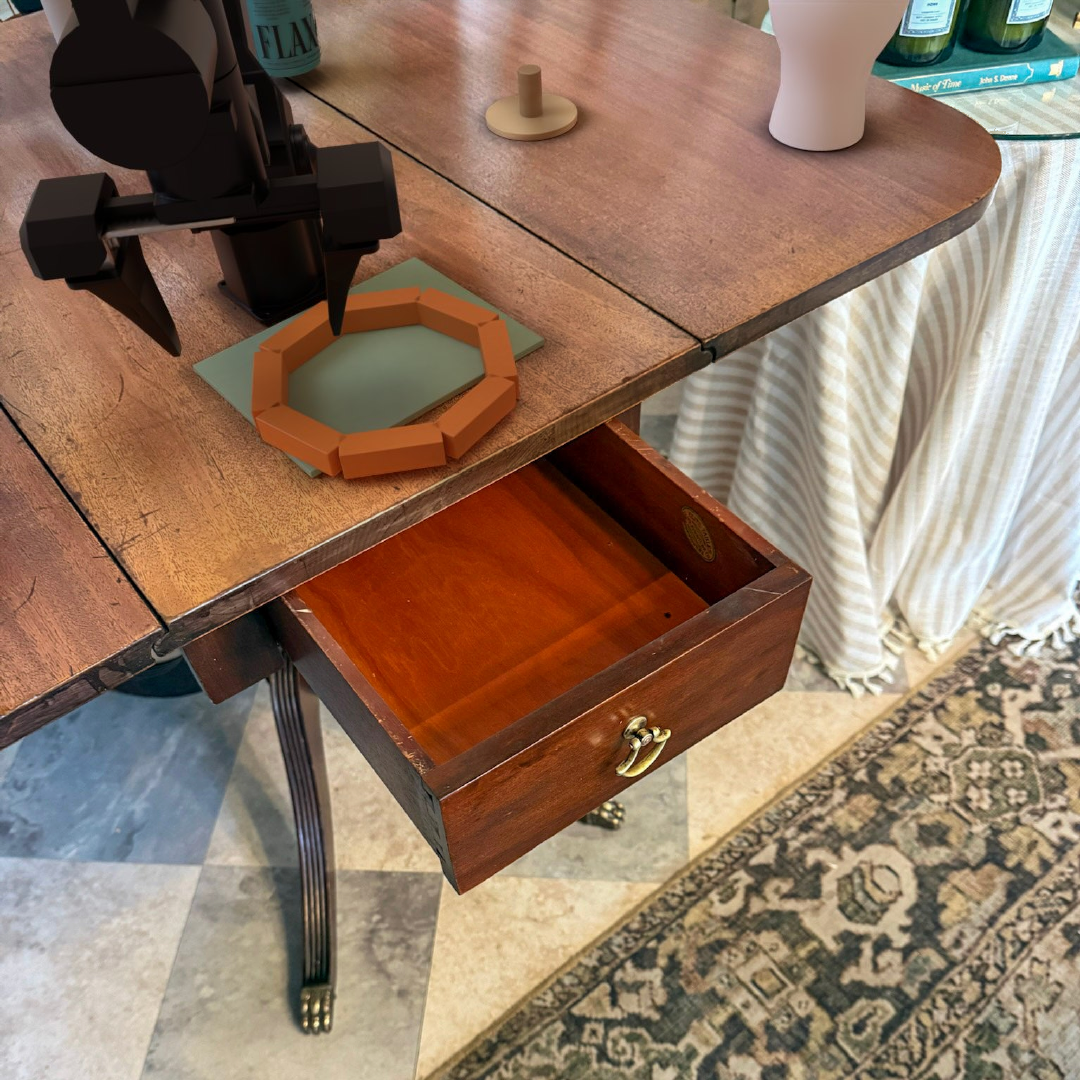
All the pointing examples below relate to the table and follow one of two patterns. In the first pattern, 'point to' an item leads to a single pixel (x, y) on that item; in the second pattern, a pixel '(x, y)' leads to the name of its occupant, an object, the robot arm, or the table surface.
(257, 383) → the ring
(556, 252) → the table surface
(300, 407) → the mat
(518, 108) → the stand
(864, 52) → the pale pink vase
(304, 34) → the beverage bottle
